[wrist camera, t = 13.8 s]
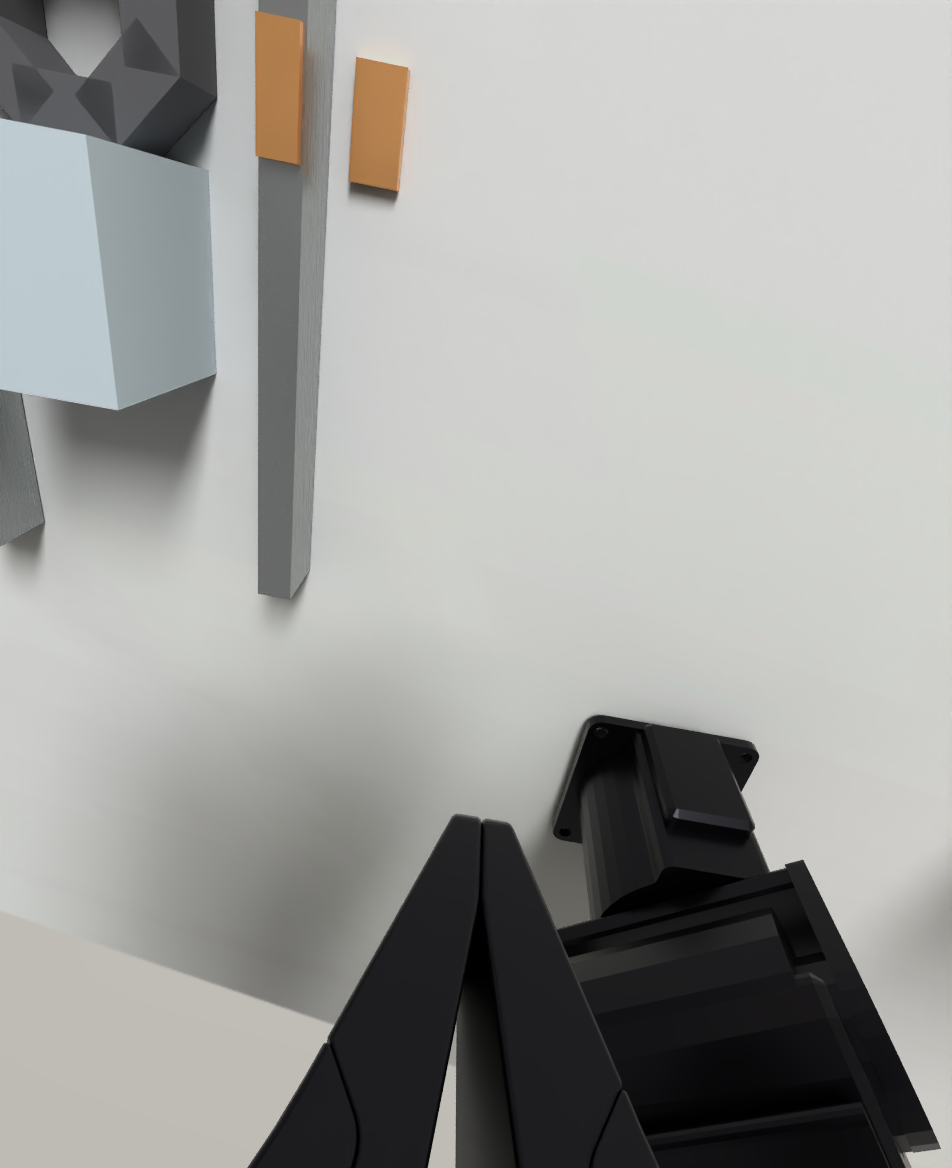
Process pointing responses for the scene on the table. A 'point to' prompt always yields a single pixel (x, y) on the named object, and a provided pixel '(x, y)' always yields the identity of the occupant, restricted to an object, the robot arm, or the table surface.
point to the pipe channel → (275, 272)
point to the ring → (114, 74)
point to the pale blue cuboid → (101, 269)
